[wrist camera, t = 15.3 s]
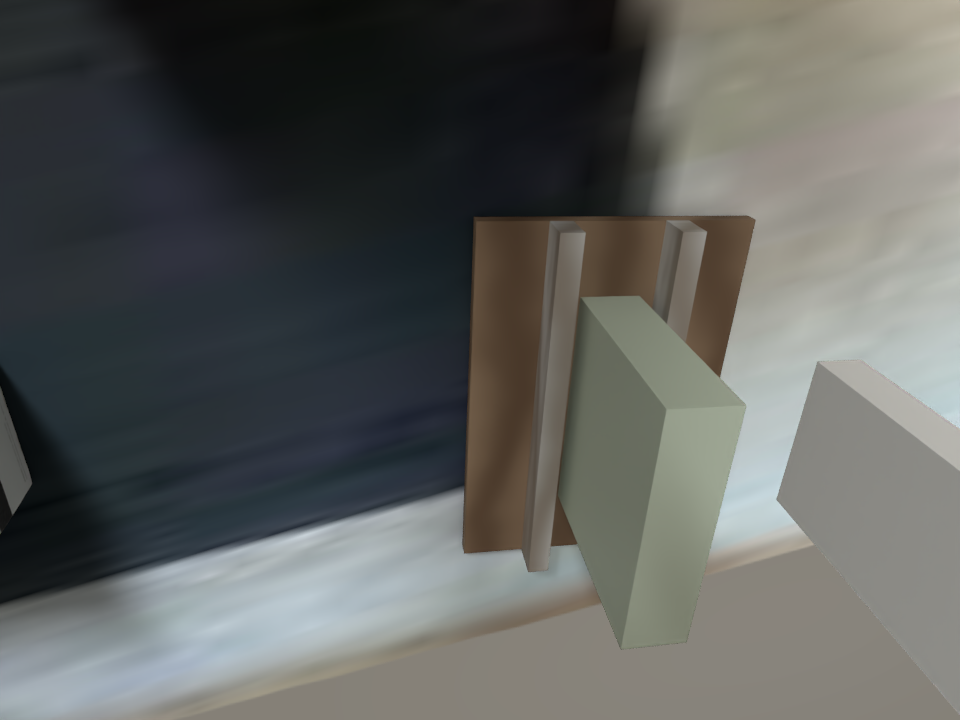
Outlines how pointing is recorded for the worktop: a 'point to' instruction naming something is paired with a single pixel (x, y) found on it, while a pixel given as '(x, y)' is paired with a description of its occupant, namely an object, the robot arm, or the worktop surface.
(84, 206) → the worktop surface
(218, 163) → the worktop surface
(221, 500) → the worktop surface
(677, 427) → the door panel
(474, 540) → the walnut track
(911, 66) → the worktop surface
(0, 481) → the tea box
